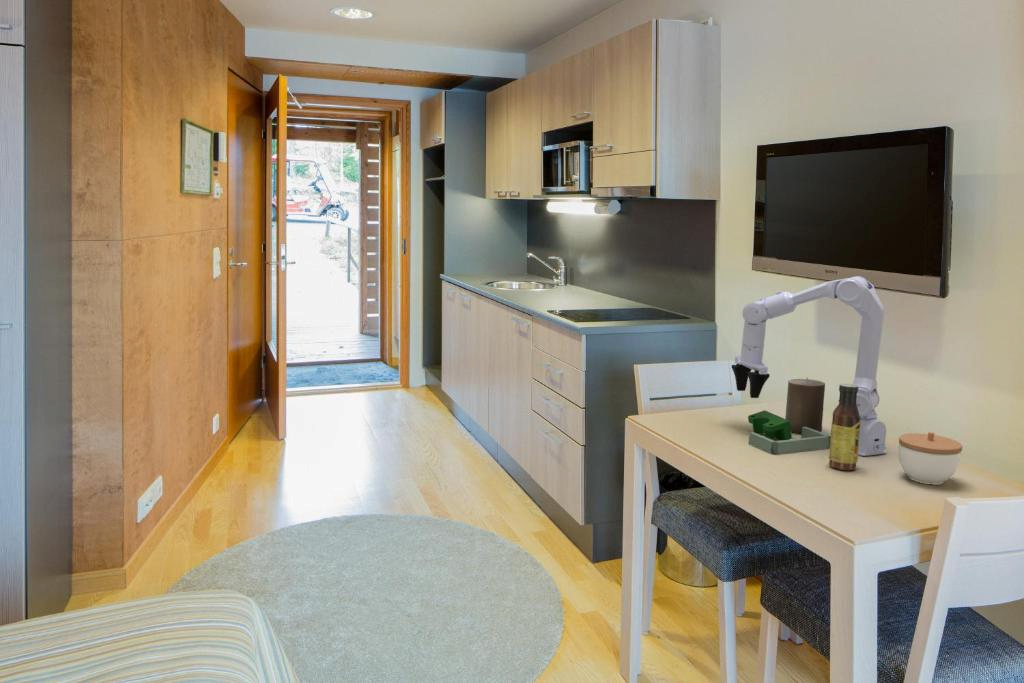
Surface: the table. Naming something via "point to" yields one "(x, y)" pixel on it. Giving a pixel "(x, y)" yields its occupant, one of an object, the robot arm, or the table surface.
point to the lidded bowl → (929, 457)
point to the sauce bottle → (845, 430)
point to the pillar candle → (805, 404)
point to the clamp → (770, 425)
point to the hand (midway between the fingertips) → (747, 394)
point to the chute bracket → (792, 442)
